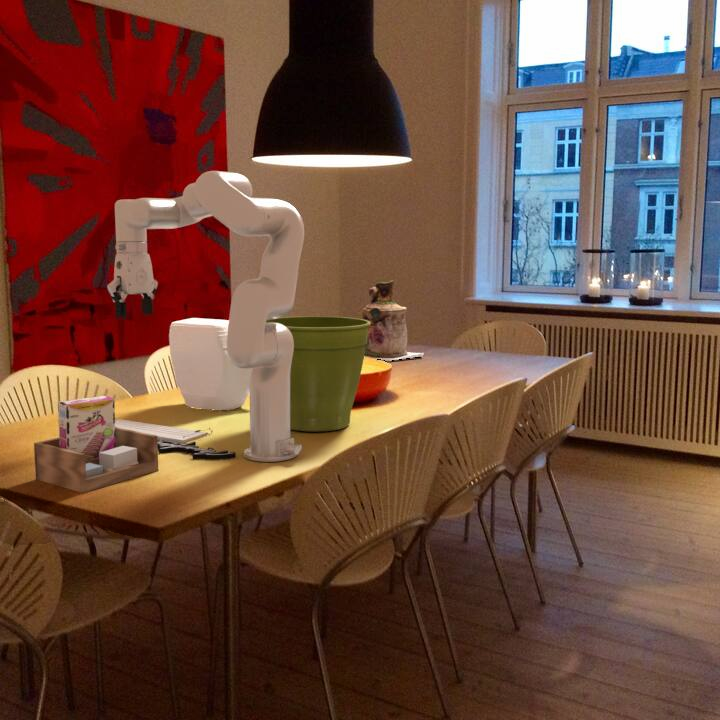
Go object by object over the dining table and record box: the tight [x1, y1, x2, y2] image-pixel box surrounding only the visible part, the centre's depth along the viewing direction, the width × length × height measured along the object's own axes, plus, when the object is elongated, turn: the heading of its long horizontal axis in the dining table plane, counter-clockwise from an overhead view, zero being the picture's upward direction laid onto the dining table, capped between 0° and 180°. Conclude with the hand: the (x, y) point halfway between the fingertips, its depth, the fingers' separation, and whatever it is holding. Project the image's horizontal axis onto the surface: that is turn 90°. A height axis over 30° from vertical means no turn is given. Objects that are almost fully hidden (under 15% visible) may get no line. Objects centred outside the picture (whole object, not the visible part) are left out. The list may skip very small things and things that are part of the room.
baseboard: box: [115, 418, 213, 443], centre depth 228 cm, size 31×3×12 cm
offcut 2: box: [99, 446, 137, 469], centre depth 187 cm, size 4×7×3 cm, turn 151°
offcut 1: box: [86, 463, 103, 478], centre depth 181 cm, size 4×4×4 cm
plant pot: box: [266, 315, 370, 433], centre depth 233 cm, size 30×30×29 cm
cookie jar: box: [361, 280, 425, 362], centre depth 356 cm, size 25×25×32 cm
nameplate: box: [157, 439, 237, 461], centre depth 208 cm, size 27×2×10 cm
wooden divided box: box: [33, 427, 159, 494], centre depth 187 cm, size 16×20×8 cm
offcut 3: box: [103, 462, 138, 474], centre depth 187 cm, size 4×8×3 cm, turn 145°
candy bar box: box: [57, 395, 116, 461], centre depth 188 cm, size 11×5×16 cm, turn 133°
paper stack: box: [168, 317, 252, 411], centre depth 256 cm, size 21×27×26 cm
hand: (134, 316), depth 221 cm, fingers open, 9 cm apart
